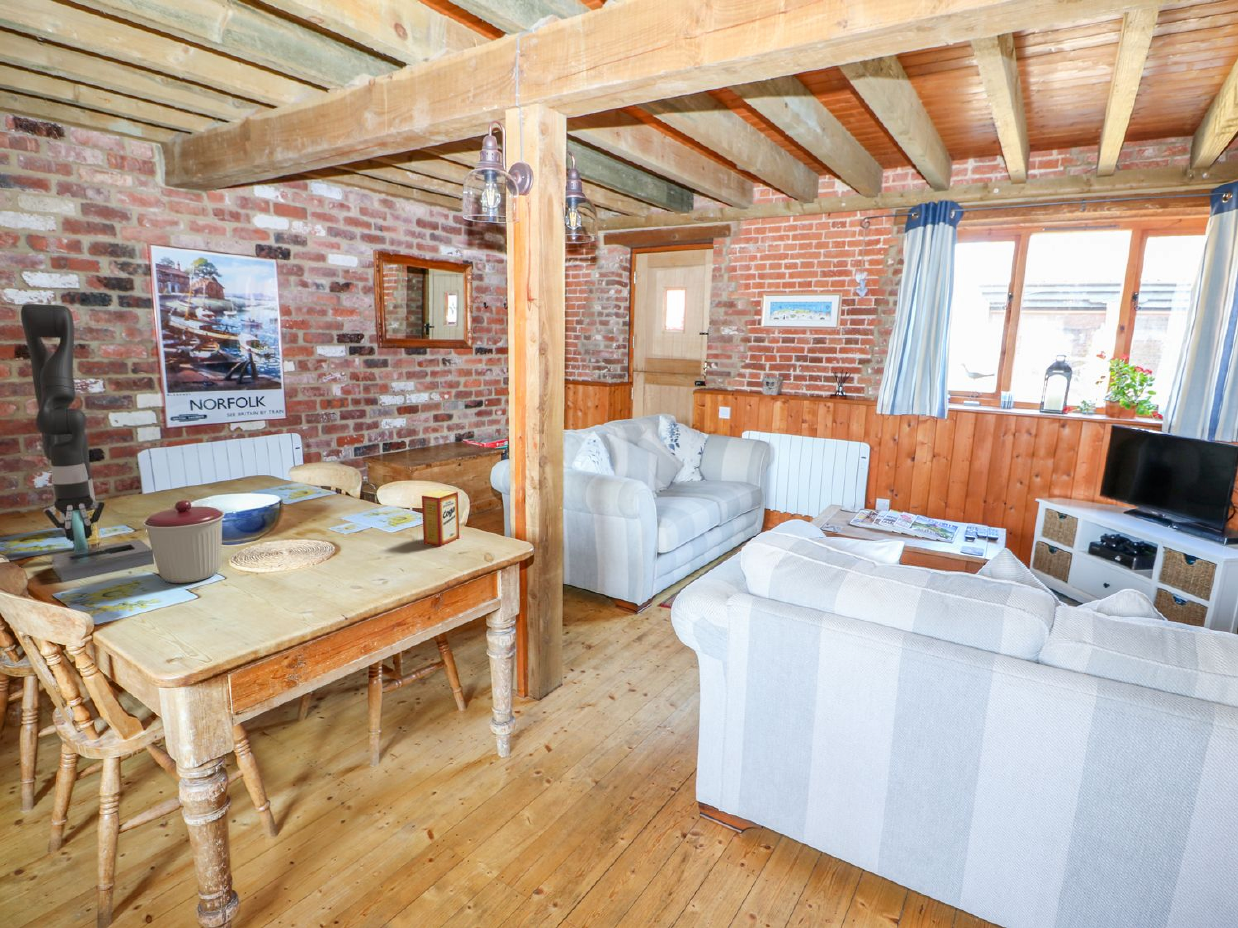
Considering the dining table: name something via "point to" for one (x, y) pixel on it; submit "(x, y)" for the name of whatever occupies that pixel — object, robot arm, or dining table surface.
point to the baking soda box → (440, 517)
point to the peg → (78, 531)
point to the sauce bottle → (93, 530)
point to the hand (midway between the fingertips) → (79, 538)
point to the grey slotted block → (101, 560)
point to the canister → (186, 542)
